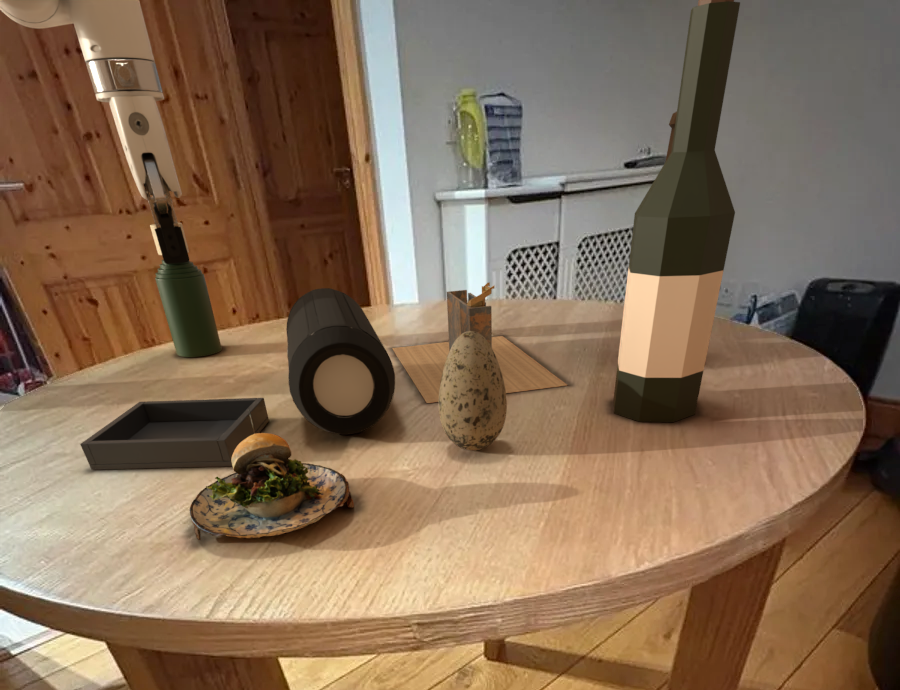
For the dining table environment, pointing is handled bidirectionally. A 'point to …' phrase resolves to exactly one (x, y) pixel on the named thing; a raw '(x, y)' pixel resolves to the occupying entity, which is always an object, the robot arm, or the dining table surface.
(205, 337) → the bottle
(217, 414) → the tray
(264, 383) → the dining table surface
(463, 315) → the architectural model on board
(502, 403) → the decorative egg
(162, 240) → the robot arm
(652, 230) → the wine bottle
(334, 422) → the portable speaker
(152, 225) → the cap
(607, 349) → the dining table surface
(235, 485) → the burger
